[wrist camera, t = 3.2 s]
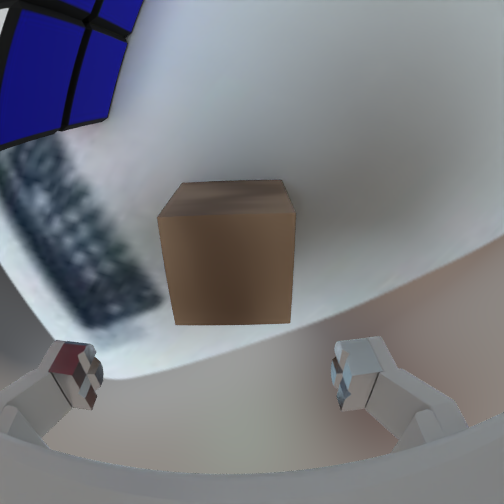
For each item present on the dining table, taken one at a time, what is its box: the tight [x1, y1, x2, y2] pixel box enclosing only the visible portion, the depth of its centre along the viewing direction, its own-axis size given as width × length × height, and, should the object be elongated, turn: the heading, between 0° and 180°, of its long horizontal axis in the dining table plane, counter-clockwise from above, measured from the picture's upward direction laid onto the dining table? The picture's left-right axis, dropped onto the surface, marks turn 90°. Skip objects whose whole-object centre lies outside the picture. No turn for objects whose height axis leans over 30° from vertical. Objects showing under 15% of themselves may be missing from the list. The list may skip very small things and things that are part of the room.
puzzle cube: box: [0, 0, 143, 151], centre depth 8 cm, size 10×10×10 cm
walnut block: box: [157, 180, 296, 325], centre depth 16 cm, size 6×6×6 cm
